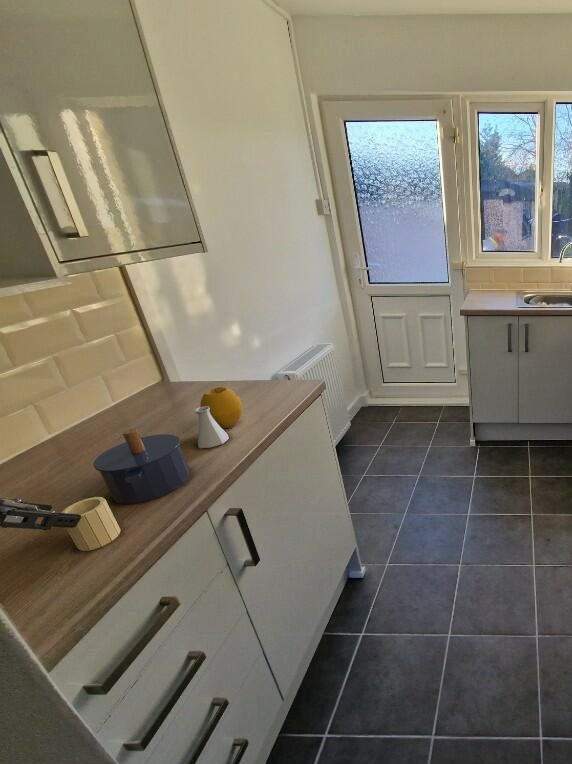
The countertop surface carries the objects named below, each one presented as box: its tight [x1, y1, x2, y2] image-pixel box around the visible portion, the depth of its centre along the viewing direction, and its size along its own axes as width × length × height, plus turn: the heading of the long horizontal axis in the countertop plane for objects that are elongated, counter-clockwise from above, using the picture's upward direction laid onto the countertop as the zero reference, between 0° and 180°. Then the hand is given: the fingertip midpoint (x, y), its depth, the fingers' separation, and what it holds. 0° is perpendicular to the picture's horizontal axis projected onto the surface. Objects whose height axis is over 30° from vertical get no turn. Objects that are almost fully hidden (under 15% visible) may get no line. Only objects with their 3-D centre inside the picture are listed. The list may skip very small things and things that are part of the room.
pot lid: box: [93, 428, 181, 473], centre depth 90 cm, size 15×15×6 cm
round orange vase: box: [199, 386, 243, 429], centre depth 118 cm, size 10×10×12 cm
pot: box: [99, 444, 190, 505], centre depth 93 cm, size 14×19×8 cm
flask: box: [194, 406, 230, 449], centre depth 109 cm, size 7×7×10 cm
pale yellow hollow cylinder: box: [60, 496, 121, 552], centre depth 77 cm, size 6×6×8 cm
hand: (62, 515), depth 73 cm, fingers open, 8 cm apart
